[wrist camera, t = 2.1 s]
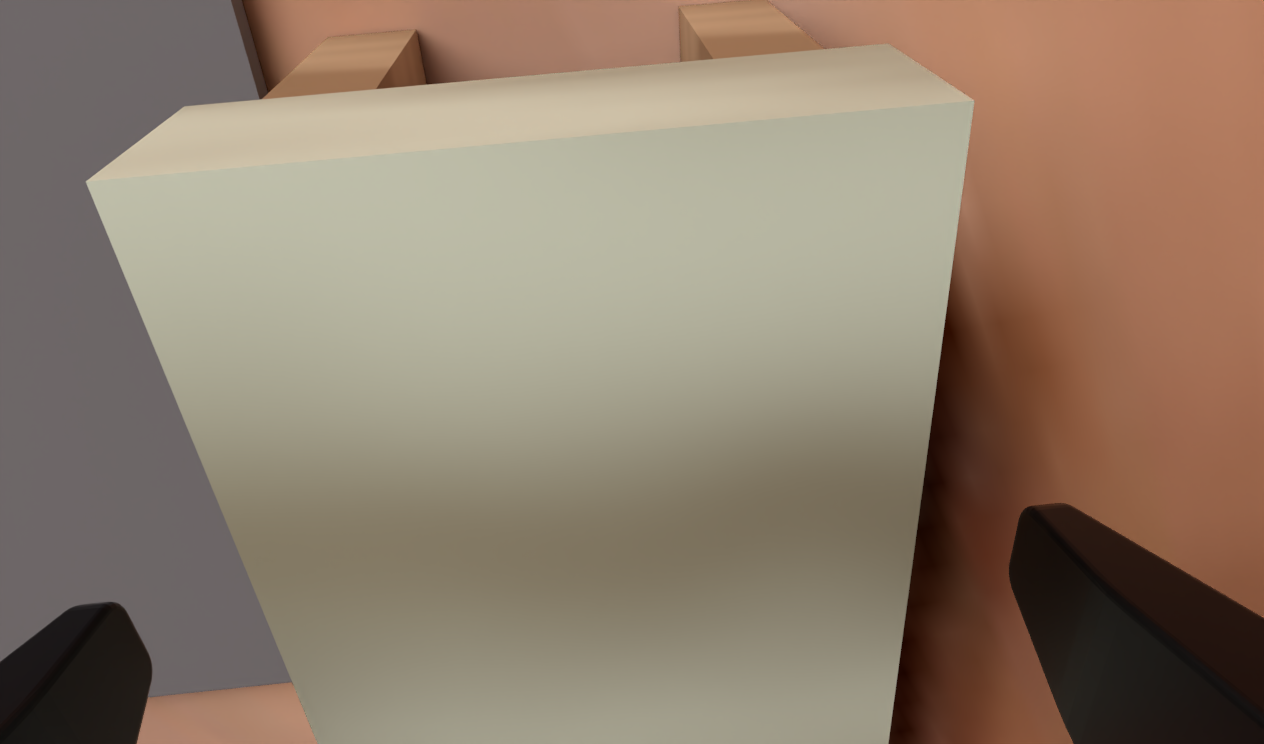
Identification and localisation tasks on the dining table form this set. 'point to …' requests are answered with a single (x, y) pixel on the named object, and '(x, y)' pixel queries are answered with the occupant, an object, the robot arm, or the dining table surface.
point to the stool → (565, 378)
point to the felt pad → (108, 346)
